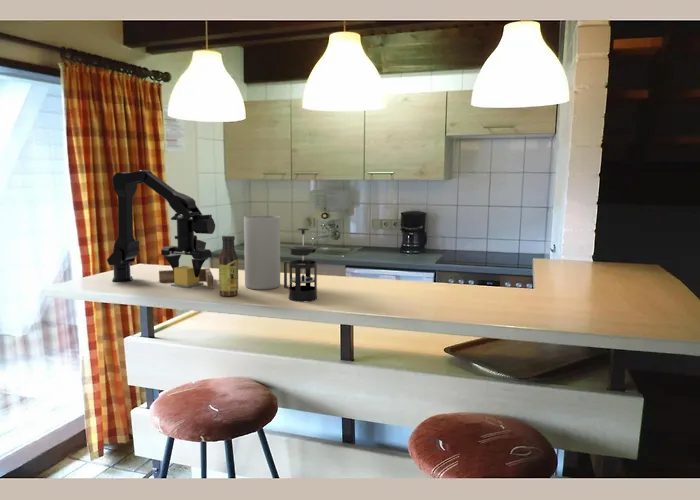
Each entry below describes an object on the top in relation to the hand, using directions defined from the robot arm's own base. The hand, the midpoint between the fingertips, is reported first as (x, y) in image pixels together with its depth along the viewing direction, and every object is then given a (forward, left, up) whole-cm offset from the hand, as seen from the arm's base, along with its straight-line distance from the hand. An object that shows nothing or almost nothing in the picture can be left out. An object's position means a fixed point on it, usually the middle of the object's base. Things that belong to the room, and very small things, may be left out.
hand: (186, 275), depth 185 cm
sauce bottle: (+20, +13, -3) cm, 24 cm away
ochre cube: (0, 0, -3) cm, 3 cm away
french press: (+31, +35, -3) cm, 47 cm away
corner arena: (-1, 0, -3) cm, 3 cm away
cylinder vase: (+10, +26, -3) cm, 28 cm away
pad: (0, 0, -3) cm, 3 cm away
